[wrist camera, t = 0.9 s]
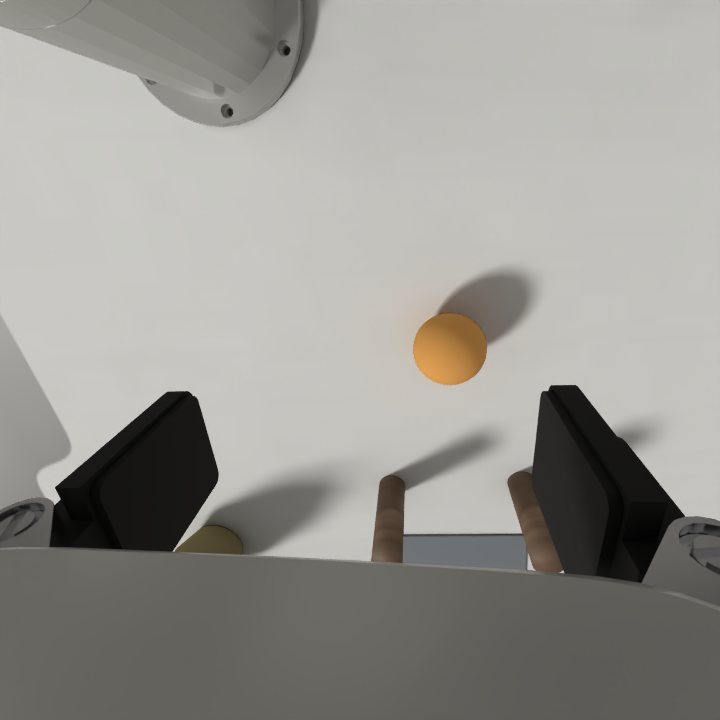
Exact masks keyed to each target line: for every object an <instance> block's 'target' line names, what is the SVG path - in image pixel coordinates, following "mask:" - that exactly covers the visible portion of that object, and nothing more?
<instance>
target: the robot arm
mask: <svg viewBox="0 0 720 720" xmlns="http://www.w3.org/2000/svg"><path fill="white" fill-rule="evenodd" d="M303 25H304V13H303V1H302V0H0V26H2V27H4V28H7V29H10V30H13V31H16V32H18V33H21V34H24V35H27V36H29V37H32V38H35V39H38V40H40V41H43V42H46V43H49V44H52V45H54V46H57V47H60V48H63V49H65V50H68V51H71V52H74V53H76V54H79V55H82V56H85V57H88V58H90V59H93V60H96V61H99V62H101V63H104V64H107V65H110V66H112V67H115V68H118V69H121V70H123V71H126V72H129V73H132V74H135V75H137V76H138V77H139V79H140V80H141V81H142V83H143V84H144V85H145V87H146V88H147V89H148V90H149V91H150V92H151V93H152V94H153V95H154V96H155V97H156V98H157V99H158V100H159V101H160V102H161V103H162V104H163V105H165V106H166V107H167V108H169V109H170V110H172V111H173V112H175V113H176V114H178V115H180V116H182V117H184V118H186V119H189V120H191V121H193V122H196V123H200V124H204V125H209V126H219V127H227V126H235V125H240V124H243V123H246V122H248V121H251V120H253V119H255V118H257V117H258V116H260V115H261V114H263V113H264V112H266V111H267V110H268V109H269V108H270V107H271V106H272V105H273V104H274V103H275V102H276V101H277V100H278V99H279V98H280V96H281V95H282V93H283V92H284V90H285V88H286V87H287V85H288V84H289V82H290V80H291V78H292V75H293V73H294V70H295V68H296V65H297V63H298V59H299V54H300V50H301V45H302V40H303ZM287 47H288V48H290V53H289V55H288V56H286V55H285V54H284V51H285V49H286V48H287ZM230 109H233V115H232V117H231V116H230V114H229V111H230ZM218 476H219V473H218V468H217V465H216V461H215V458H214V454H213V451H212V447H211V444H210V440H209V437H208V433H207V430H206V426H205V423H204V419H203V416H202V412H201V409H200V405H199V402H198V399H197V398H196V397H195V396H192V394H191V393H190V392H188V391H176V392H167V393H165V394H164V395H163V396H161V397H160V398H159V399H158V400H157V401H156V402H154V403H153V404H152V405H151V406H150V407H149V408H147V409H146V410H145V411H144V412H143V413H142V414H140V415H139V416H138V417H137V418H136V419H135V420H133V421H132V422H131V423H130V424H129V425H128V426H126V427H125V428H124V429H123V430H122V431H120V432H119V433H118V434H117V435H116V436H115V437H113V438H112V439H111V440H110V441H109V442H108V443H106V444H105V445H104V446H103V447H102V448H101V449H99V450H98V451H97V452H96V453H95V454H94V455H92V456H91V457H90V458H89V459H88V460H87V461H85V462H84V463H83V464H82V465H81V466H80V467H78V468H77V469H76V470H75V471H74V472H73V473H71V474H70V475H69V476H68V477H67V478H66V479H64V480H63V481H62V482H61V483H60V484H59V485H57V486H56V487H55V489H56V491H57V493H58V495H59V497H60V499H61V500H60V501H59V502H58V503H57V504H56V505H54V504H53V502H52V501H51V500H49V499H48V498H40V497H39V498H32V499H27V500H24V501H21V502H17V503H15V504H12V505H10V506H8V507H5V508H3V509H2V510H0V720H720V521H718V520H715V519H711V518H705V517H699V516H694V517H685V515H684V514H683V513H682V512H681V510H680V509H679V508H678V507H677V505H676V504H675V503H674V502H673V500H672V499H671V498H670V497H669V495H668V494H667V493H666V492H665V490H664V489H663V488H662V487H661V485H660V484H659V483H658V482H657V480H656V479H655V478H654V477H653V475H652V474H651V473H650V472H649V470H648V469H647V468H646V467H645V465H644V464H643V463H642V462H641V460H640V459H639V458H638V457H637V455H636V454H635V453H634V452H633V450H632V449H631V448H630V447H629V445H628V444H627V443H626V442H625V441H624V440H623V439H622V438H619V437H617V436H616V435H615V433H614V432H613V431H612V430H611V428H610V427H609V426H608V425H607V423H606V422H605V421H604V419H603V418H602V417H601V416H600V414H599V413H598V412H597V410H596V409H595V408H594V407H593V405H592V404H591V403H590V402H589V400H588V399H587V398H586V396H585V395H584V394H583V393H582V391H581V390H580V389H579V387H578V386H576V385H551V386H550V388H549V391H543V392H542V393H541V398H540V407H539V416H538V425H537V434H536V443H535V452H534V461H533V471H532V486H533V490H534V493H535V496H536V499H537V501H538V504H539V507H540V509H541V512H542V515H543V517H544V520H545V522H546V525H547V528H548V530H549V533H550V536H551V538H552V541H553V544H554V546H555V549H556V552H557V554H558V557H559V559H560V562H561V565H562V567H563V570H564V573H555V572H544V571H533V570H515V569H498V568H482V567H465V566H446V565H428V564H410V563H392V562H374V561H356V560H336V559H317V558H297V557H277V556H256V555H235V554H214V553H190V552H172V551H173V550H174V548H175V547H176V545H177V544H178V542H179V541H180V539H181V538H182V536H183V535H184V533H185V532H186V530H187V528H188V527H189V525H190V524H191V522H192V521H193V519H194V518H195V516H196V515H197V513H198V512H199V510H200V509H201V507H202V505H203V504H204V502H205V501H206V499H207V498H208V496H209V495H210V493H211V492H212V490H213V489H214V487H215V486H216V484H217V481H218Z"/></svg>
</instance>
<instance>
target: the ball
mask: <svg viewBox="0 0 720 720" xmlns="http://www.w3.org/2000/svg"><path fill="white" fill-rule="evenodd" d="M486 353H487V344H486V340H485V336H484V334H483V332H482V330H481V329H480V327H479V326H478V325H477V324H476V323H475V322H474V321H472V320H471V319H470V318H468V317H466V316H463V315H461V314H456V313H445V314H440V315H437V316H435V317H433V318H431V319H429V320H428V321H427V322H425V323H424V324H423V325H422V327H421V328H420V329H419V331H418V332H417V334H416V337H415V340H414V345H413V354H414V359H415V362H416V364H417V366H418V368H419V369H420V371H421V372H422V373H423V374H424V375H425V376H426V377H427V378H429V379H430V380H432V381H434V382H436V383H439V384H444V385H456V384H460V383H463V382H466V381H468V380H469V379H471V378H472V377H474V376H475V375H476V374H477V373H478V372H479V370H480V369H481V367H482V366H483V364H484V361H485V359H486Z"/></svg>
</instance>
